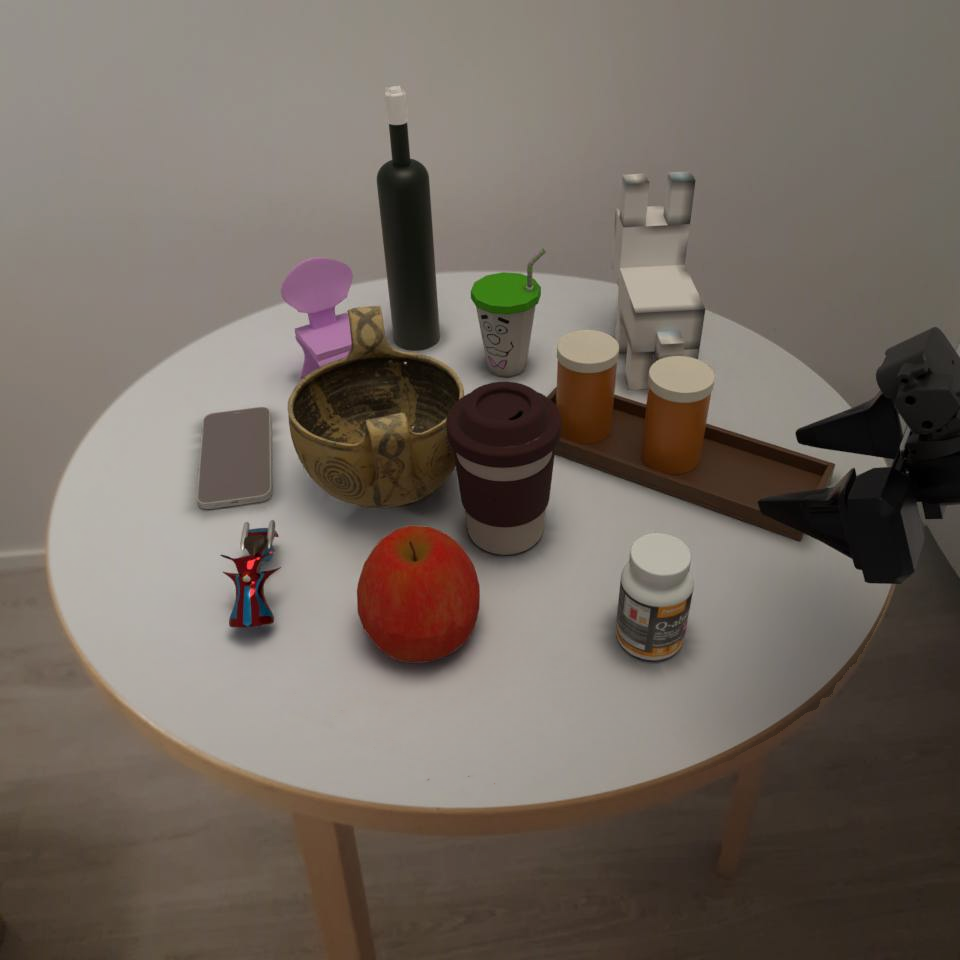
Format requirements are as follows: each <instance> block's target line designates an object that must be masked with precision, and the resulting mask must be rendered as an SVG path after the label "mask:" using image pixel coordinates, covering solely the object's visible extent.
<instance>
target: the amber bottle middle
mask: <svg viewBox="0 0 960 960" xmlns="http://www.w3.org/2000/svg"><path fill="white" fill-rule="evenodd" d="M715 380H716V373H715V371H714V370H713V368H712V367H711V366H710V365H709V364H708V363H706V362H705V361H703V360H700V359H699V358H698V359H695V358H691V357H686V356H671V357H666V358H662V359H660V360H656V361H655V362H653V365H652V366H651V367H650V370H649V377H648V385H649V387H648V389H647V397H646V404H647V405H646V414H645V423H644V431H643V440H642V449H641V456H642V459H643V461H644V462H645V464H646V465H647V466H649V467H650V468H652V469H654V470H657V471H659V472H662V473H665V474H683V473H687V472H689V471H691V470H693V469H694V468H696V467H697V465H698V464H699V462H700V458H701V452H702V446H703V440H704V434H705V428H706V423H707V422H708V421H707V420H708V416H709V415H708V414H709V409H710V402H711V397H712V393H713V390H714V387H715V386H714V385H715Z"/></svg>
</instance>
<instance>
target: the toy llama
mask: <svg viewBox="0 0 960 960" xmlns="http://www.w3.org/2000/svg"><path fill="white" fill-rule="evenodd" d="M696 181H697V180H696V179H695V176H694V175H693V174H692V171H690V170H688V171H687V170H686V171H670V172H667V176H666V185H665V194H664V204H663V205H651V206H648V205H649V203H648V202H649V192H650V181H649V179H648V176H647V174H646V173H632V174H631V173H630V174H627V173H626V174H622V177H621V191H620V193H621V194H620V203H619V207H616V208H615V213H614V228H613V242H612V257H611V270H612V272H613V275H614V279H615V281H616V284H617V287H618V289H617V301H616V302H617V303H616V316H615V328H614V339H615V340H616V341H617V342H618V344H619V355H620V354H626V359H625V371H624V380H625V383H626V387H627V389H628V390H629V391H630V390H633V391H634V390H648V387H649V385H648V377H649V370H650V367H651V366H652V365H653V363H654V360H655V357H656V359H657V360H656V361H658V360H660V359H662V358H666V357H671V356H686V357H691V358H695V359H698V360H699V354H700V347H701V341H702V336H703V335H702V334H703V328H704V322H705V315H706V307H705V305H704V303H703V300H702V299H701V296H700V294H699V292H698V290H697V288H696V286H695V283H694V281H693V279H692V277H691V275H690V273H689V271H688V269H687V266H686V258H687V250H688V242H689V234H690V228H691V220H692V211H693V204H694V196H695V188H696Z"/></svg>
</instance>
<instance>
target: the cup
mask: <svg viewBox="0 0 960 960" xmlns="http://www.w3.org/2000/svg"><path fill="white" fill-rule="evenodd" d="M545 254H546V250H545V249H544V248H541V249H540V250H539V251H538V252H537V253H536V254H535V255H534V256H533V257H532V258H531V259H530V260H529V261H528V263H527V268H526V274H523V273H519V272H518V273H517V272H505V271H502V272H497V273H492V274H487V275H485V276H483V277H481V278H479V279H477V280H476V281H475V282H473V285H472V287H471V290H470V299H471V301H472V303H473V304H474V306H475V309H476V315H477V319H478V320H477V321H478V324H479V330H480V335H481V341H482V345H483V346H482V347H483V351H484V356H485V363H486V367H487V369H488V371H489V372H490V374H492V375H493V376H494V375H495V376H496V377H499V378H512V377H513V378H514V377H517V376H519V375H520V374H522V373H524V372H525V371H526V367H527V362H528V357H529V356H528V355H529V350H530V344H531V336H532V332H533V325H534V318H535V312H536V306H537V305H538V304H539V301H540V299H541V296H542V287H541V285H540V284H539V283H538V281H537V280H536V279H535V278H533V267H534V264H535V263H537V261H539V260H540V259H541V258H542V257H543V256H544V255H545Z"/></svg>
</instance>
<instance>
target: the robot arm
mask: <svg viewBox="0 0 960 960" xmlns="http://www.w3.org/2000/svg"><path fill="white" fill-rule="evenodd" d="M884 355H885V357H884V359H883V362H882V363H881V365H879V367H878V368H877V369H876V372H875V380H876V383H877V386H878V388H879V391H878V392H877V394H876V395H874V397H873V398H871V399H870V400H867V401H865V402H863V403H860V404H858V405H856V406H854V407H851V408H848V409H846V410H843V411H842V412H838V413H836V414H833V415H830V416H827V417H825V418H822V419H820V420H817V421H814V422H811V423H809V424H806V425H803V426H802V427H798V428H796V430H795V433H794V434H795V439H796V442H797V443H798V444H799V445H801V446H802V445H803V446H807V447H812V448H816V449H823V450H830V451H836V452H842V453H848V454H855V455H863V456H869V457H876V458H883V459H888V460H889V459H890V460H893V461H892V463H891V466H883V467H872V468H870V469H868V470H866V471H864V472H861V473H859V474H857V471H856V468H855V467H852V468H850V470H848V472H847V473H846V474H845V475H843V477H842V478H841V479H840V480H839V481H838V482H837V483H836V484H835V485H834V486H831V487H827V488H825V489H817V490H810V491H802V492H794V493H787V494H779V495H774V496H769V497H764V498H760V499H759V501H758V506H759V510H760V513H761V514H762V515H764V516H766V517H769V518H771V519H773V520H775V521H777V522H780V523H782V524H784V525H786V526H788V527H791V528H793V529H795V530H797V531H800V532H802V533H804V535H806V536H808V537H811V538H812V539H814V540H816V541H819V542H821V543H822V544H824V545H827V546H828V547H830V548H832V549H834V550H836V551H837V552H839V553H841V554H843V555H844V556H846V557H848V558H849V559H851V561H852V563H853V567H854V568H855V569H856V570H858V571H861V572H862V576H863V580H864V583H867V584H875V585H876V584H877V585H878V584H879V585H880V584H883V585H902V584H903V583H904V582H905V581H906V580H908V579H909V578H910V577H911V576H912V575H913V574H914V573H915V572H916V569H917V565H918V562H919V559H920V555H921V552H922V549H923V546H924V543H925V539H926V538H925V533H924V528H923V524H922V521H921V520H922V519H921V516H920V511H919V507H918V503H921V506H922V510H923V515H924V519H925V520H943V519H944V516H945V512H946V509H947V506H960V356H959V354H958V352H957V351H956V349H955V348H954V347H953V345H952V343H951V342H950V340H949V339H948V338H947V336H946V335H945V333H944V332H943V331H942V330H941V329H940V328H939V327H937V326H933V327H931V328H928V329H927V330H925V331H924V330H923V331H922V332H920V333H918V334H915V335H914V336H912V337H910V338H907V339H906V340H904V341H901V342H899V343H897V344H895V345H893V346H890V347H888V348H887V349H886V350H885V351H884Z"/></svg>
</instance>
